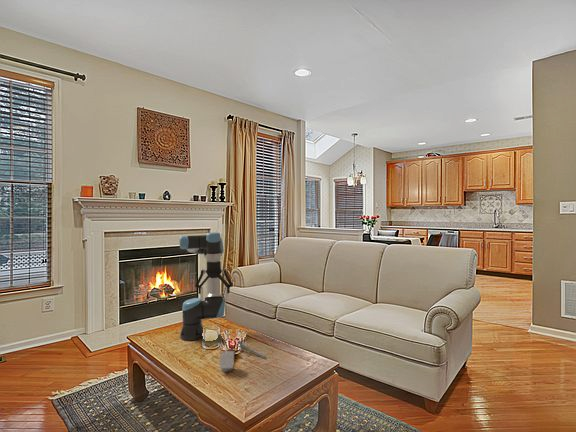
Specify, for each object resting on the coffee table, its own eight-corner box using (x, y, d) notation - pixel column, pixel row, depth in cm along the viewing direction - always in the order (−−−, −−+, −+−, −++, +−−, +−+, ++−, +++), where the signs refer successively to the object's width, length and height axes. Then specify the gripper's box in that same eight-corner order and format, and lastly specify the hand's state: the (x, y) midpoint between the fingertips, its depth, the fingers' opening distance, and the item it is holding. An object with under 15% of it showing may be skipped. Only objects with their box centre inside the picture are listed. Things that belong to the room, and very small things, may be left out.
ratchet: (232, 372, 170) (231, 359, 170) (220, 372, 170) (220, 360, 170) (237, 353, 192) (237, 342, 192) (227, 353, 192) (227, 342, 192)
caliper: (237, 351, 196) (237, 340, 195) (238, 350, 196) (238, 339, 196) (266, 359, 185) (266, 348, 184) (267, 358, 186) (267, 347, 185)
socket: (222, 362, 175) (222, 351, 175) (234, 362, 176) (233, 351, 175) (220, 368, 169) (220, 356, 169) (232, 368, 170) (232, 356, 169)
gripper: (189, 262, 183) (189, 301, 183) (235, 261, 183) (236, 300, 184) (192, 260, 190) (193, 297, 191) (237, 259, 191) (238, 297, 192)
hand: (214, 299), depth 188 cm, fingers open, 13 cm apart
